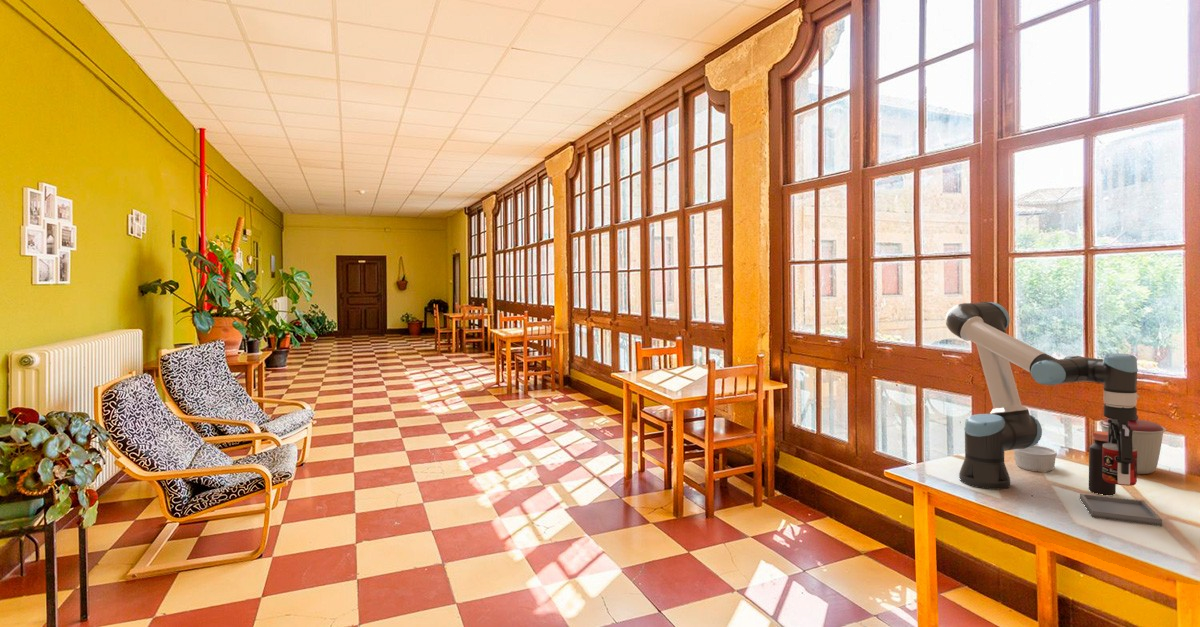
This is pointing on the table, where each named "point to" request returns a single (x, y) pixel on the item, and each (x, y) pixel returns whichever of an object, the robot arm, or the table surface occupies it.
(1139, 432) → the canister
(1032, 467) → the ramekin
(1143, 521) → the tray
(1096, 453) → the bottle
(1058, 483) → the table surface
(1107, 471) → the canned food
